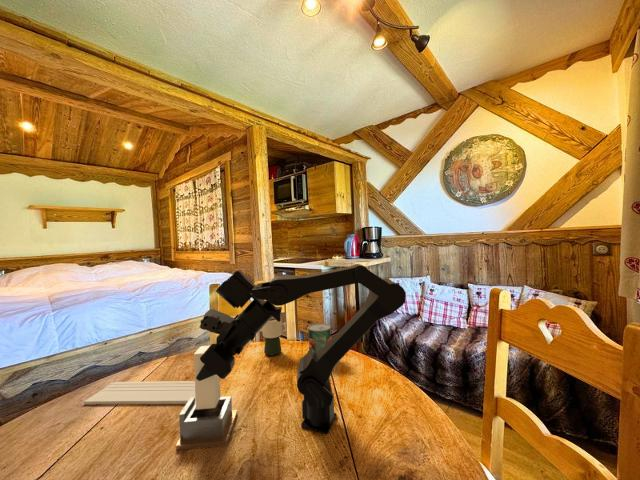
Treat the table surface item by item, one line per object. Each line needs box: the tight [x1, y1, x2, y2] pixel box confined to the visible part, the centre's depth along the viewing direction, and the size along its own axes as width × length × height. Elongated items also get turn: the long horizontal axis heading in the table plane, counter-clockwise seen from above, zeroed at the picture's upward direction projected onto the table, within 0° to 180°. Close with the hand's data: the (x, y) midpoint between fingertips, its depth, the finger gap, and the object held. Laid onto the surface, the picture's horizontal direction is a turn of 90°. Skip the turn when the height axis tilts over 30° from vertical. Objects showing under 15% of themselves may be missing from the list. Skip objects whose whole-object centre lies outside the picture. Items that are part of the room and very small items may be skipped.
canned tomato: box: [307, 322, 332, 352], centre depth 94 cm, size 8×8×11 cm
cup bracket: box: [175, 395, 238, 451], centre depth 60 cm, size 10×10×6 cm
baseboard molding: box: [83, 380, 196, 406], centre depth 76 cm, size 31×3×12 cm
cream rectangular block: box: [193, 345, 222, 410], centre depth 60 cm, size 4×4×12 cm
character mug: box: [258, 317, 288, 356], centre depth 99 cm, size 11×7×13 cm, turn 84°
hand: (201, 374), depth 60 cm, fingers closed on cream rectangular block, 4 cm apart
